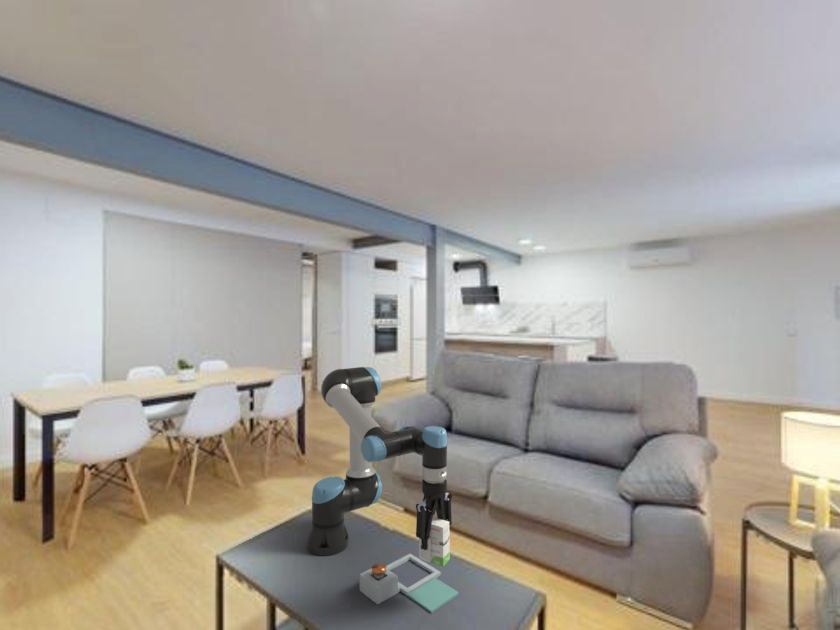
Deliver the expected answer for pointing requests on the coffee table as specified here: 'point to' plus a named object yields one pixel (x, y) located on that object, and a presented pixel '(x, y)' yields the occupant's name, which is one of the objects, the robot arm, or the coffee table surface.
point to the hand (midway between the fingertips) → (434, 554)
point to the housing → (393, 581)
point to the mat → (433, 595)
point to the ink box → (438, 542)
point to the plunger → (378, 571)
